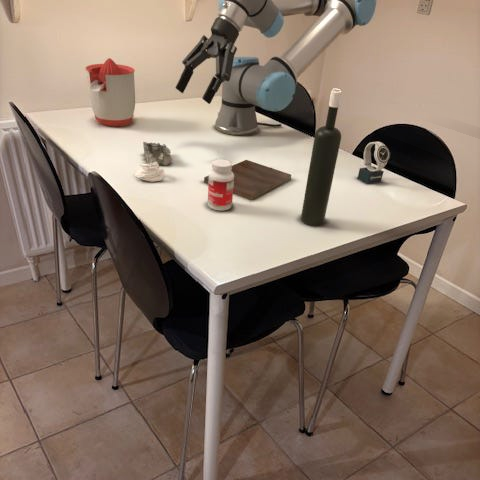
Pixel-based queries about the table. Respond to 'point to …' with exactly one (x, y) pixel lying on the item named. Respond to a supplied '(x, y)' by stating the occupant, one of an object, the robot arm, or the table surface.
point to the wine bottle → (322, 166)
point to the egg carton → (156, 153)
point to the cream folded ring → (150, 172)
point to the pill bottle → (220, 185)
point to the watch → (370, 172)
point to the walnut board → (255, 179)
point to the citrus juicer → (112, 93)
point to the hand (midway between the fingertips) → (192, 96)
